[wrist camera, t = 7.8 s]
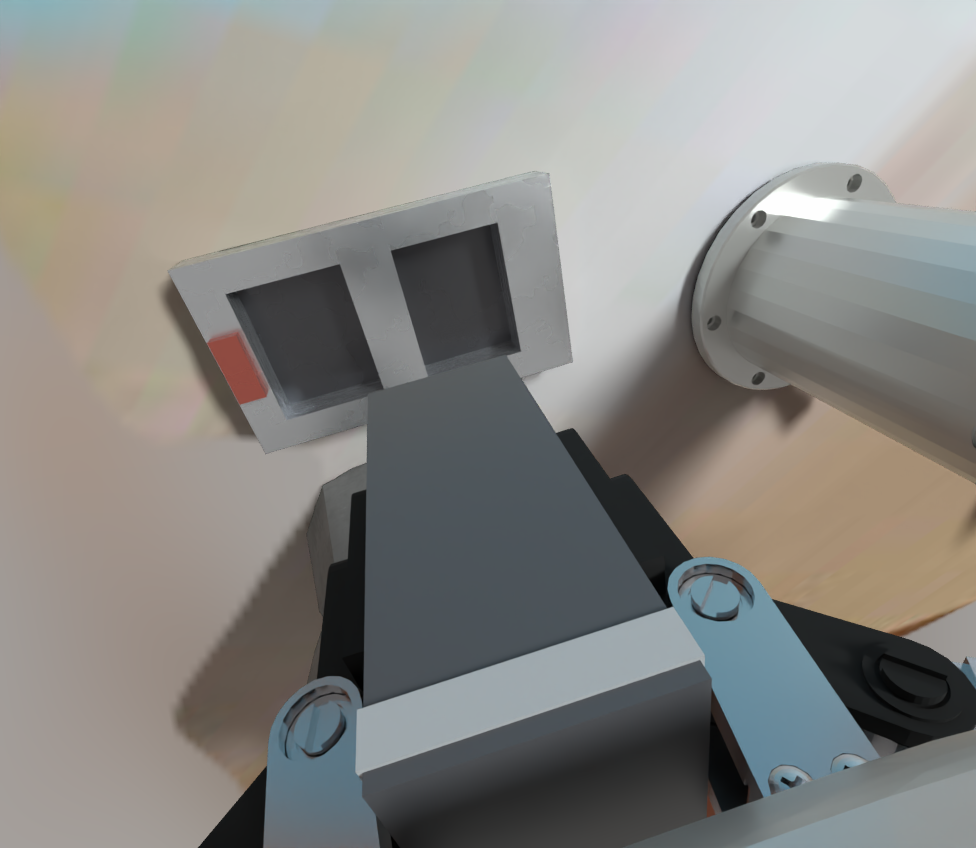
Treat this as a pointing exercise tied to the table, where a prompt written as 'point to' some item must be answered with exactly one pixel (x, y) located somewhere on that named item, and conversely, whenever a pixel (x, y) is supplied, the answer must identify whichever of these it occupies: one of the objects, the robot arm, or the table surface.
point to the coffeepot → (331, 534)
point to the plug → (513, 637)
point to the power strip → (381, 304)
